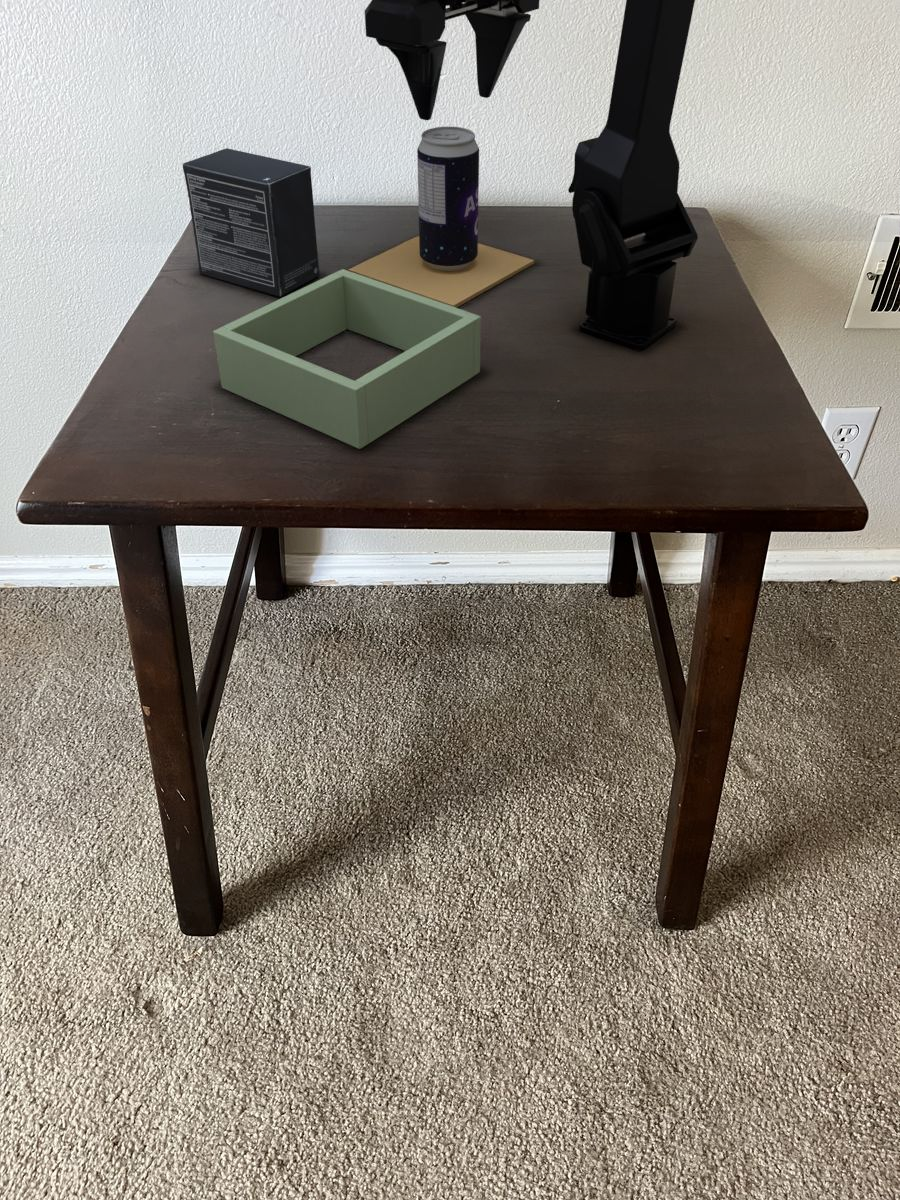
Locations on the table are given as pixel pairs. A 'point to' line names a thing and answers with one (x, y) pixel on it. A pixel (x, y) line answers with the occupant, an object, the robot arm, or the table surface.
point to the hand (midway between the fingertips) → (455, 107)
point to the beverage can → (448, 197)
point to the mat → (442, 272)
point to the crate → (331, 401)
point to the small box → (253, 220)
